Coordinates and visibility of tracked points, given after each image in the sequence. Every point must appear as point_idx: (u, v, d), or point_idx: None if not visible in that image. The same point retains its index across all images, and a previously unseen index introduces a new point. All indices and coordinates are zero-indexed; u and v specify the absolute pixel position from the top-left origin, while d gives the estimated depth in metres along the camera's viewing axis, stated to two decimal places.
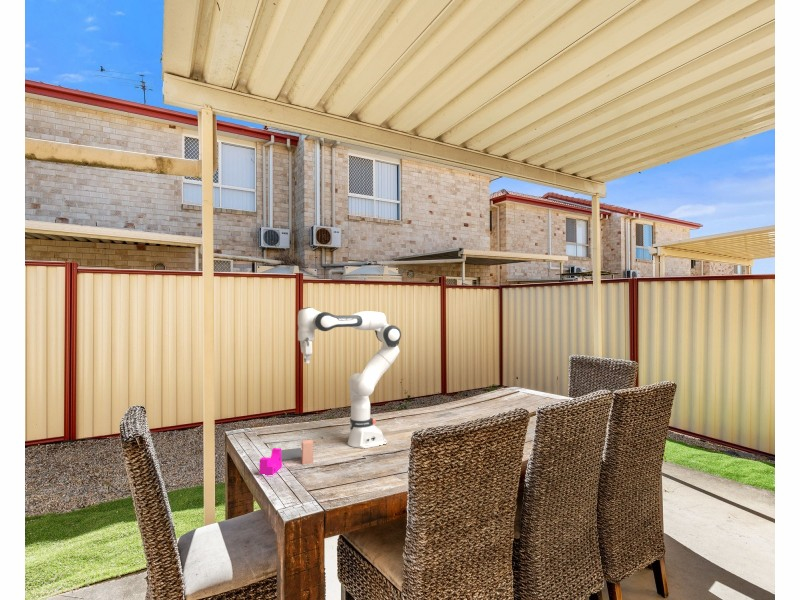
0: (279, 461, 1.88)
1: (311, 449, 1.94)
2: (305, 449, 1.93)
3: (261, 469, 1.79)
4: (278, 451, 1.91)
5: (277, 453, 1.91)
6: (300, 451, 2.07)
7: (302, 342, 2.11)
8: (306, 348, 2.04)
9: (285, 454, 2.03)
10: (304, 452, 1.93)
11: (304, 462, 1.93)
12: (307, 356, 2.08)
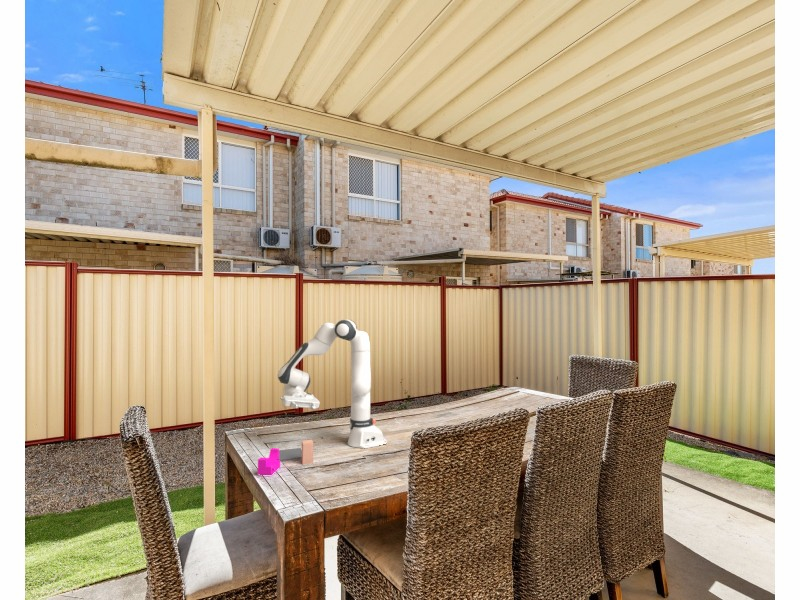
0: (277, 461, 1.88)
1: (311, 449, 1.94)
2: (305, 449, 1.93)
3: (259, 469, 1.78)
4: (276, 451, 1.91)
5: (275, 453, 1.91)
6: (300, 451, 2.07)
7: None
8: (282, 402, 2.08)
9: (285, 454, 2.03)
10: (304, 452, 1.93)
11: (304, 462, 1.93)
12: (291, 404, 2.06)
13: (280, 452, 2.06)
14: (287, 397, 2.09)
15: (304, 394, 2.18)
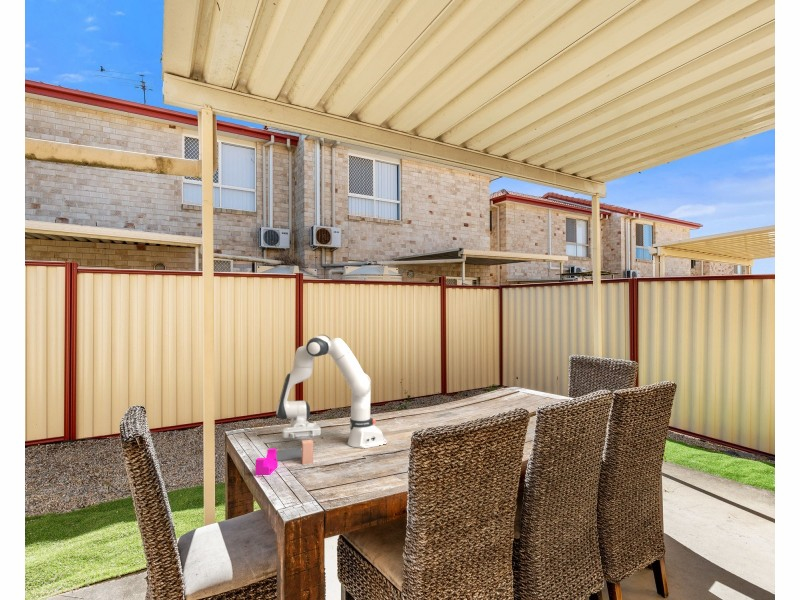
0: (275, 461, 1.87)
1: (311, 449, 1.94)
2: (305, 449, 1.93)
3: (257, 470, 1.78)
4: (273, 451, 1.91)
5: (272, 453, 1.91)
6: (300, 451, 2.07)
7: None
8: None
9: (285, 454, 2.03)
10: (304, 452, 1.93)
11: (304, 462, 1.93)
12: (290, 435, 2.08)
13: (280, 452, 2.06)
14: (286, 429, 2.12)
15: (305, 423, 2.19)
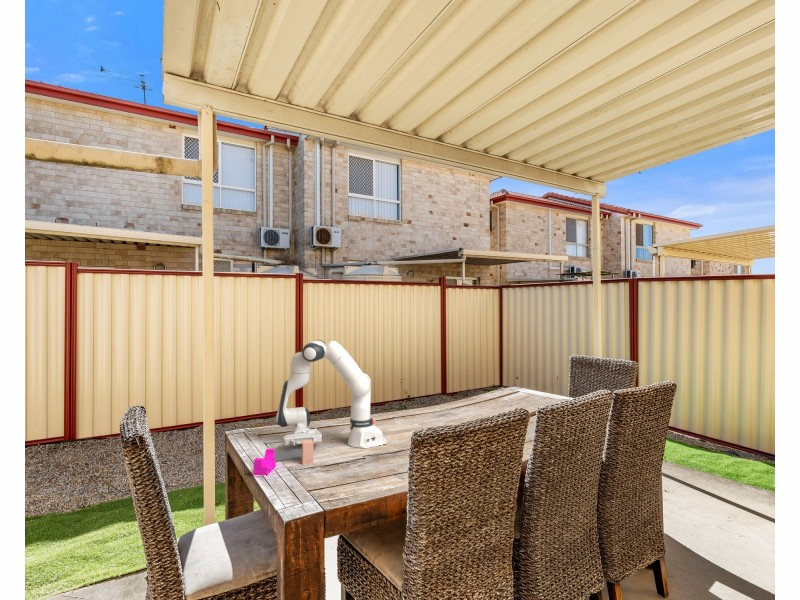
0: (273, 461, 1.87)
1: (311, 449, 1.94)
2: (305, 449, 1.93)
3: (255, 470, 1.78)
4: (272, 451, 1.91)
5: (271, 453, 1.90)
6: (300, 451, 2.07)
7: None
8: None
9: (285, 454, 2.03)
10: (304, 452, 1.93)
11: (304, 462, 1.93)
12: (291, 442, 2.08)
13: (280, 452, 2.06)
14: (287, 436, 2.12)
15: (306, 430, 2.19)
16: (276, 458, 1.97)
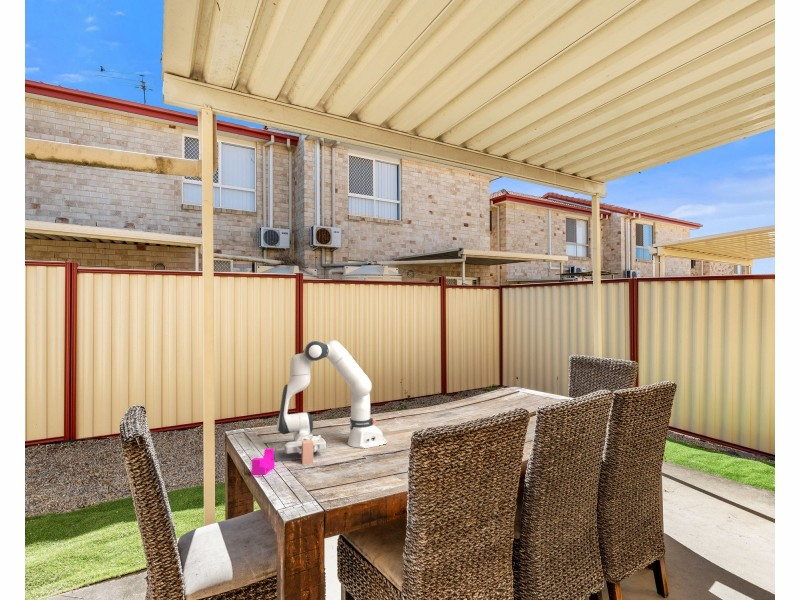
0: (271, 461, 1.87)
1: (311, 449, 1.94)
2: (305, 449, 1.93)
3: (253, 470, 1.78)
4: (270, 451, 1.91)
5: (269, 453, 1.91)
6: None
7: None
8: None
9: (285, 454, 2.03)
10: (304, 452, 1.93)
11: (304, 462, 1.93)
12: (296, 450, 1.96)
13: (280, 452, 2.06)
14: (289, 443, 2.00)
15: (309, 436, 2.07)
16: (276, 458, 1.97)
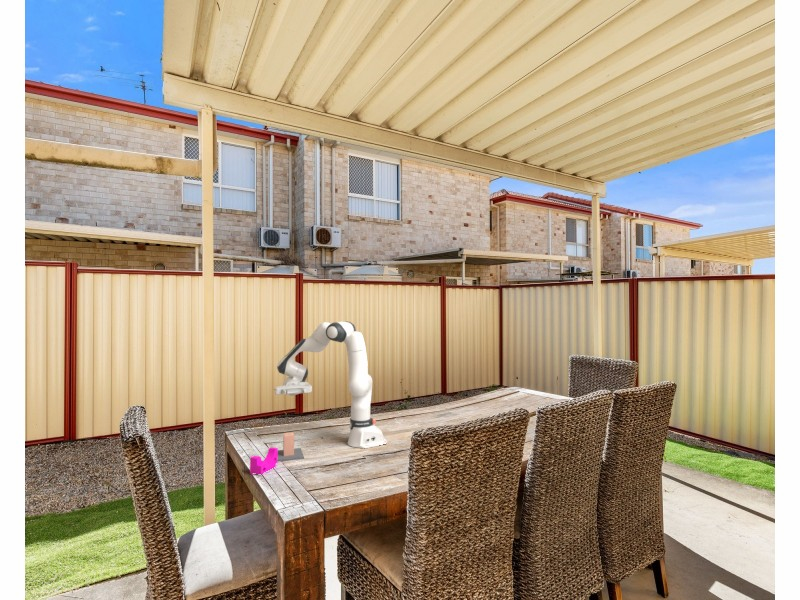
0: (273, 461, 1.88)
1: (292, 441, 2.02)
2: (286, 441, 2.01)
3: (251, 468, 1.80)
4: (274, 451, 1.92)
5: (273, 452, 1.92)
6: (300, 451, 2.07)
7: None
8: None
9: None
10: (285, 444, 2.01)
11: (285, 454, 2.01)
12: (282, 392, 2.19)
13: (280, 452, 2.06)
14: (279, 386, 2.22)
15: (297, 382, 2.30)
16: None
